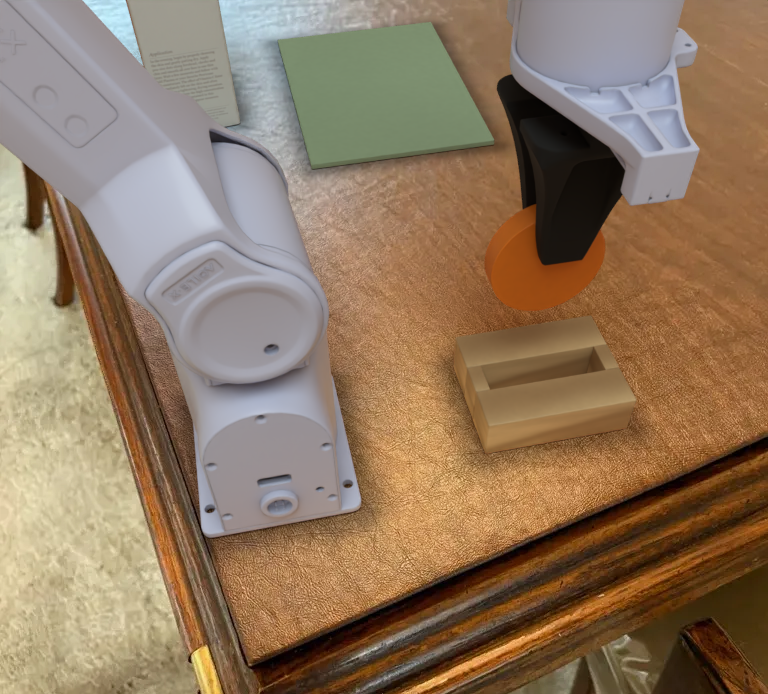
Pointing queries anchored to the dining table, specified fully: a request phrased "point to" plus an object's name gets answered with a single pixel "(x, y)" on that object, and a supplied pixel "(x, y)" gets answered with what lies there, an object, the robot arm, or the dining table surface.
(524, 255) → the disc
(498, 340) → the holder
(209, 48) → the small box
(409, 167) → the dining table surface
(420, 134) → the mat
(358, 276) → the dining table surface
